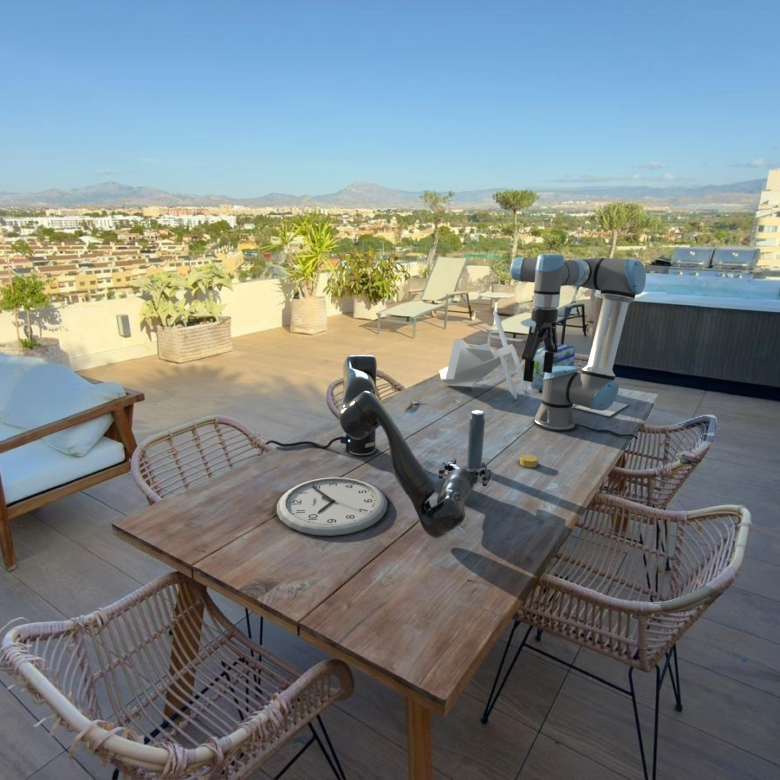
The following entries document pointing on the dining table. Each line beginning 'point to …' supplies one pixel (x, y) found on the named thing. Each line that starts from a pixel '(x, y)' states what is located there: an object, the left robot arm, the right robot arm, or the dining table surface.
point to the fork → (413, 403)
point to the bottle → (475, 440)
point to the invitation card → (608, 412)
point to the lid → (528, 461)
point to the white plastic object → (481, 362)
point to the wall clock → (331, 506)
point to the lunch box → (560, 359)
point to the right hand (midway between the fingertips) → (537, 376)
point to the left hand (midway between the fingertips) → (469, 463)
